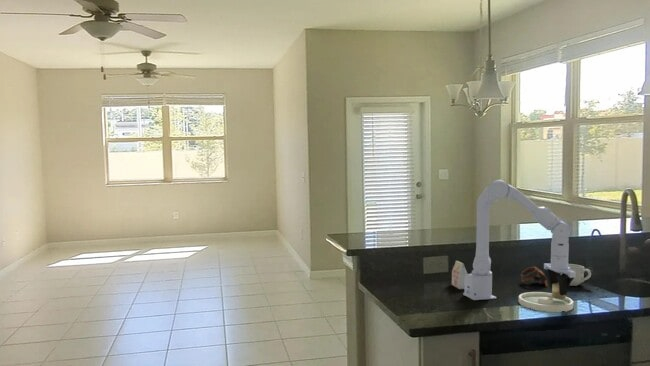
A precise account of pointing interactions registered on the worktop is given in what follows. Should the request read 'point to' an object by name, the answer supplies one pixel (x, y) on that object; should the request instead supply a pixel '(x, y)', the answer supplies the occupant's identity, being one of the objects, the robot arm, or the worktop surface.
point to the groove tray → (545, 302)
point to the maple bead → (556, 291)
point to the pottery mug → (534, 272)
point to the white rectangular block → (458, 275)
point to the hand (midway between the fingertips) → (558, 293)
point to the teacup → (579, 274)
